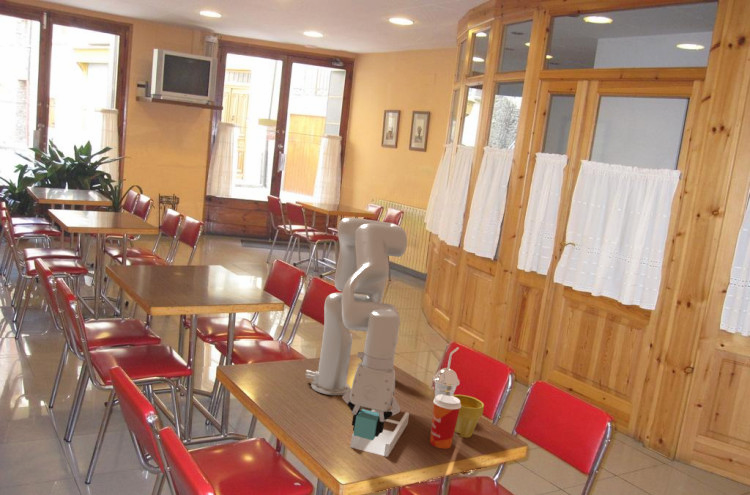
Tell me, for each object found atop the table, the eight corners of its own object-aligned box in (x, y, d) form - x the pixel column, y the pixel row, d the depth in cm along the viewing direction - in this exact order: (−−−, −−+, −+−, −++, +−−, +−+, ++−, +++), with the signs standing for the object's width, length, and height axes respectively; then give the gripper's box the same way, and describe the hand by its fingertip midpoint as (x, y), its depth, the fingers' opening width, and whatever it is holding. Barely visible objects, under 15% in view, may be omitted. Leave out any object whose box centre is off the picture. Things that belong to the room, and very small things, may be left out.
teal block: (359, 427, 163) (353, 435, 158) (362, 408, 163) (356, 415, 158) (378, 432, 162) (372, 440, 157) (381, 413, 161) (376, 420, 157)
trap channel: (349, 451, 168) (352, 434, 167) (373, 419, 191) (376, 404, 190) (387, 461, 166) (389, 444, 165) (406, 427, 189) (409, 412, 188)
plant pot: (482, 432, 194) (488, 401, 192) (473, 444, 184) (479, 411, 183) (449, 422, 198) (454, 391, 196) (438, 433, 188) (444, 401, 187)
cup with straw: (422, 406, 207) (432, 345, 205) (444, 404, 212) (454, 345, 210) (438, 417, 200) (449, 354, 198) (461, 414, 205) (471, 353, 203)
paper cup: (425, 439, 182) (433, 391, 180) (452, 443, 182) (460, 396, 180) (426, 451, 174) (434, 402, 173) (455, 456, 174) (463, 406, 173)
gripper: (339, 357, 157) (329, 428, 159) (408, 373, 152) (396, 446, 155) (349, 349, 164) (338, 417, 166) (415, 364, 160) (403, 434, 162)
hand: (366, 430), depth 161 cm, fingers closed on teal block, 5 cm apart
